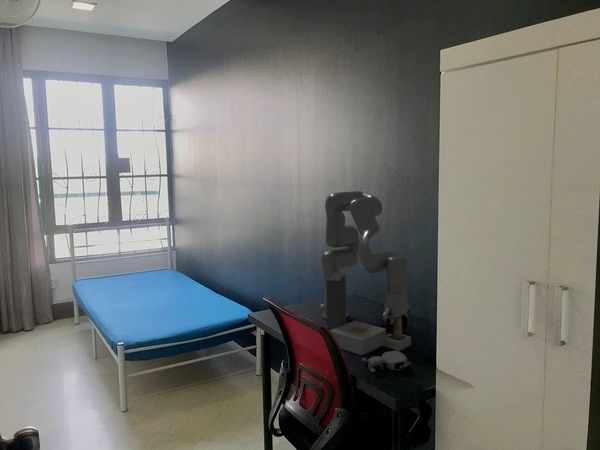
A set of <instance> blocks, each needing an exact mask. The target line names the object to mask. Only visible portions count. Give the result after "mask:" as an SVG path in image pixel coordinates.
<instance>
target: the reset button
mask: <svg viewBox="0 0 600 450" xmlns="http://www.w3.org/2000/svg"><path fill="white" fill-rule="evenodd" d="M352 332H356V333H359V334H360V333H362V332H365V331H362V330H359V329H356V330H354V331H352Z"/></svg>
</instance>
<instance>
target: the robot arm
mask: <svg viewBox="0 0 600 450" xmlns="http://www.w3.org/2000/svg"><path fill="white" fill-rule="evenodd" d="M324 204H325V205H324V206H325V207H324V209H325V213H326V223H325V224H326V226H325V244H326V245H327V246H328V247H329V248H331V250H330V249H329V250H326V251H325V252H323V254H322V255H321V257H320V259H321V263H320V264H321V266H322V273H323V303H321V304H320V305H319V307H318V309H319V310H322V312H321V314H320V316H321V318H322V319H324V320H327V279H328V278H329V277H330V276H331V275H332V274H333V273H334V272H335V273H341V270H347V269H351V268H354V267H356V265H357V263H358V260H359V259H360V261H361V263H362V266H363V267H364V270H366V271H367V272H368V273H370V274H377V273H383V272H385V273H386V293H385V298H384V306H383V307H384V308H383V310H384V311H383V312H382V318H383V321H384V323H385V325H386V333H387V334H393V324H392V323H393V321H394V318H397V317H399V316H401V315H402V328H404V329H406V328H408V318H409V314H410V309H411V304H409V303H408V302H409V301H408V290H407V289H408V287H407V286H408V283H407V280H408V276H407V275H408V265H407V264H408V263H407V262H408V259H407V258H406V257H405V256H404V255H398V254H396V253H394V252H392V251H386V252H378V253H373V252H372V250H371V248H370V243H369V242H370V240H371V238H373V237H374V236H376V235H377V234H378V233H379V232H380V229H381V227H380V225H379V223H378V221H377V218H376V217H378V216H380V215H381V214H382V213H383V204H382V202H381V200H380V199H379V198H378V197H376V196H374V195H372V194H370V193H367V192H365V191H360V190H359V191H358V190H357V191H341V192H334V193H331V194H329V195H328V196H327V198H326V199H325V203H324ZM344 212H350V214H351V217H352V219H353V221H354V223H355V225H356V227H355V226H354V225H346V216H345V214H344ZM342 247H343V248H342ZM333 248H334V249H333ZM336 248H337V249H336ZM391 315H393V316H391ZM348 317H349V313H348V312H347V311H346V319H347V318H348Z"/></svg>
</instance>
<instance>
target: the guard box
mask: <svg viewBox="0 0 600 450" xmlns="http://www.w3.org/2000/svg"><path fill="white" fill-rule="evenodd" d="M356 329H359V330H362V331H365V332H362V333H360V334H359V333H356V332H352V331H354V330H356ZM330 332H331V333H332V335H333V336H334V337H335V339H336V341H337V342H338V344H339V346H340V348H339V349H340V350H344V351H347V352H351V353H353V354H355V355H359V356H363V355H366V354H369V353H370V352H373V351H375V350H377V349H379V348H380V347H383V346H382V337H384V336H386V335H388V333H386V329H384V328H381V327H380V326H376V325H372V324H369V323H366V322H362V321H358V320H352V321H351V322H348V323H346V324H345V325H343V326H340V327H338V328H335V329H332V330H330Z"/></svg>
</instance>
